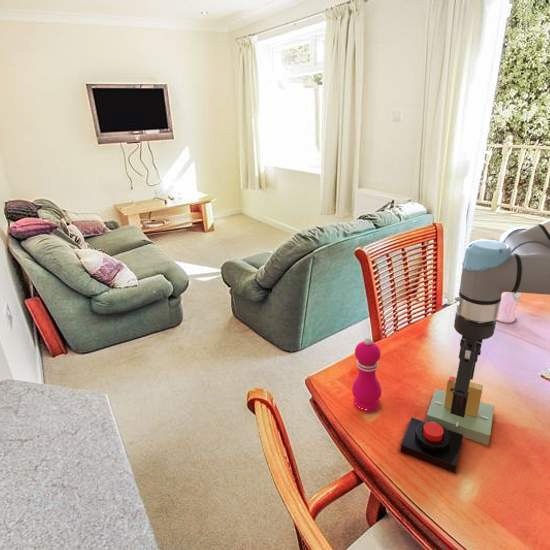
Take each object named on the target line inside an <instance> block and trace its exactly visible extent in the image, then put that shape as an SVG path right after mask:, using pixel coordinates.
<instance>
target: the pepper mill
mask: <svg viewBox="0 0 550 550" xmlns="http://www.w3.org/2000/svg"><path fill="white" fill-rule="evenodd" d="M381 353H382V352H381V349H380V347H379V345H378V344H377V343H375V342H374V341H372V338H371V337H368V336H367V337H365V338H364V339H363V341H362V340H361V342H359V343H357V345H356V346H355V348H354V356H355V358H356V367H357V368H358V374H357V376H355V377H356V378H355V379H354V381H353V383H352V386H351V387H352V388H351V393H352V396H353V405H354V407H355V408H356V409H357V410H359V411H360V412H363V413H373V412H375V411H377V410H378V408H379V406H380V398H381V396H382V386H381V383H380V381H379V379H378V377H377V374H376V371H377V369H378V368H379V360H380V359H381ZM355 403H356V404H355ZM358 406H359V407H360V408H359V407H358ZM361 408H363V409H361ZM365 409H367V410H365Z"/></svg>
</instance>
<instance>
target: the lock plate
mask: <svg viewBox="0 0 550 550" xmlns="http://www.w3.org/2000/svg"><path fill="white" fill-rule="evenodd" d="M445 396H446V391H445V390H442V389H438V388H435V389H434V393H433V395H432V398H431V401H430V403H429V407H428V410H427V413H426V418H425V422H431V421H432V422H435V423H438V424H441V425H442V426H443V427H445V428H446V429H448V430H450V431H453V432H456V433H459V434H462V435H463V438H465V439H467V440H470V441H473V442H476V443H479V444H482V445H485V446H489V443H490V440H491V433H492V428H493V427H492V425H493V418H494V411H495V405H493V404H489V403H486V402H484V401H480V405H479V410H478V415H477V418H476V417H472V416H469V415H466V414H465V416H464V418H463V417H460V416H457V415H454V414H451V413H450V412H451V410H450V409H447V408H444V404H445Z"/></svg>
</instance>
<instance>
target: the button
mask: <svg viewBox="0 0 550 550" xmlns="http://www.w3.org/2000/svg"><path fill="white" fill-rule="evenodd" d="M443 433H444V430H443V428H442V427H441V426H440V425H439V424H437V423H435V422H427V423H426V424H425V425H424V428H423V435H424V437H425V438H426V439H427V440H429V441H431V442H440V441H441V440H442V439H443Z"/></svg>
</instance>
